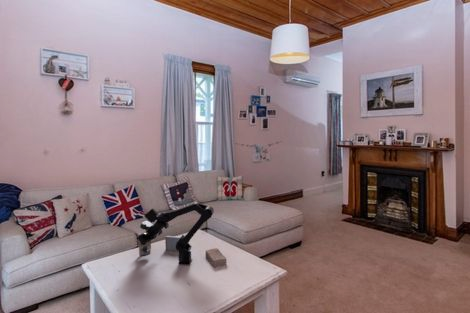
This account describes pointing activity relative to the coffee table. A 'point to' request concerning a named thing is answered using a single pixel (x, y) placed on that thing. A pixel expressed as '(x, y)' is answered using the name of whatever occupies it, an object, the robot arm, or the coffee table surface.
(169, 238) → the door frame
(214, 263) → the brick
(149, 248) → the door
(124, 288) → the coffee table surface
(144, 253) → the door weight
